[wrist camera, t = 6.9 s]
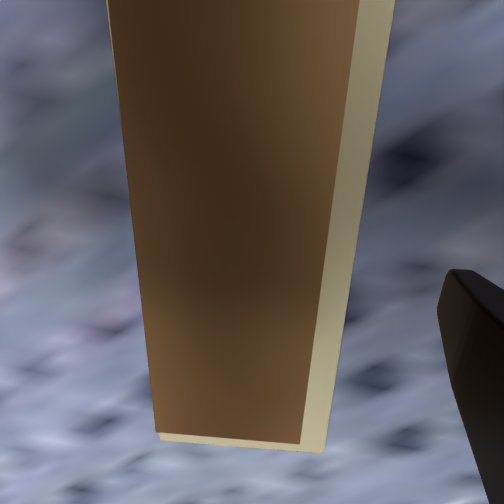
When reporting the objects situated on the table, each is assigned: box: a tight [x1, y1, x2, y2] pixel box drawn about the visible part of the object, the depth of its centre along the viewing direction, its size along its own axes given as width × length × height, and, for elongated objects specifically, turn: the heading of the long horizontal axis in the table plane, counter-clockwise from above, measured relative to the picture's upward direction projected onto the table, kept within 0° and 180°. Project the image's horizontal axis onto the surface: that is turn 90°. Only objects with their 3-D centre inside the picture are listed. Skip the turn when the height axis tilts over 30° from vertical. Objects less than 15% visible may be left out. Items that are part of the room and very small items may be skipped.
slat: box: [108, 0, 360, 445], centre depth 12 cm, size 4×12×4 cm, turn 178°
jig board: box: [106, 0, 395, 453], centre depth 14 cm, size 7×26×1 cm, turn 179°
